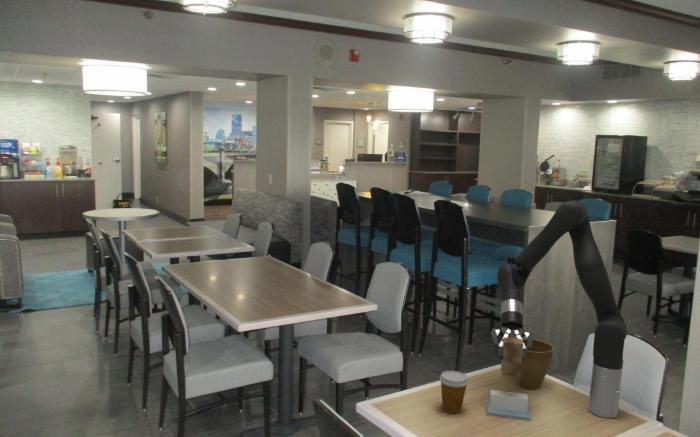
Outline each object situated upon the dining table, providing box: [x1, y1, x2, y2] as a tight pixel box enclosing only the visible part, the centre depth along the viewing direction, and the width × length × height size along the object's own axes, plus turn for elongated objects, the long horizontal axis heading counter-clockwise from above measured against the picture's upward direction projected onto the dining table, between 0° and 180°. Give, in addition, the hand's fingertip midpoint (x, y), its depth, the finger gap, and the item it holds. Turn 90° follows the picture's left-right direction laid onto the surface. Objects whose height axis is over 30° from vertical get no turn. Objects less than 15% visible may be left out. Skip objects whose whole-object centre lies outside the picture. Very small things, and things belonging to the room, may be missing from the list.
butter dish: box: [485, 389, 532, 421], centre depth 189 cm, size 14×10×6 cm
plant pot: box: [517, 338, 555, 390], centre depth 210 cm, size 15×15×16 cm
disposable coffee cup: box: [439, 370, 469, 414], centre depth 188 cm, size 10×10×12 cm
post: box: [500, 336, 523, 380], centre depth 187 cm, size 6×6×12 cm
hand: (512, 359), depth 186 cm, fingers closed on post, 6 cm apart
